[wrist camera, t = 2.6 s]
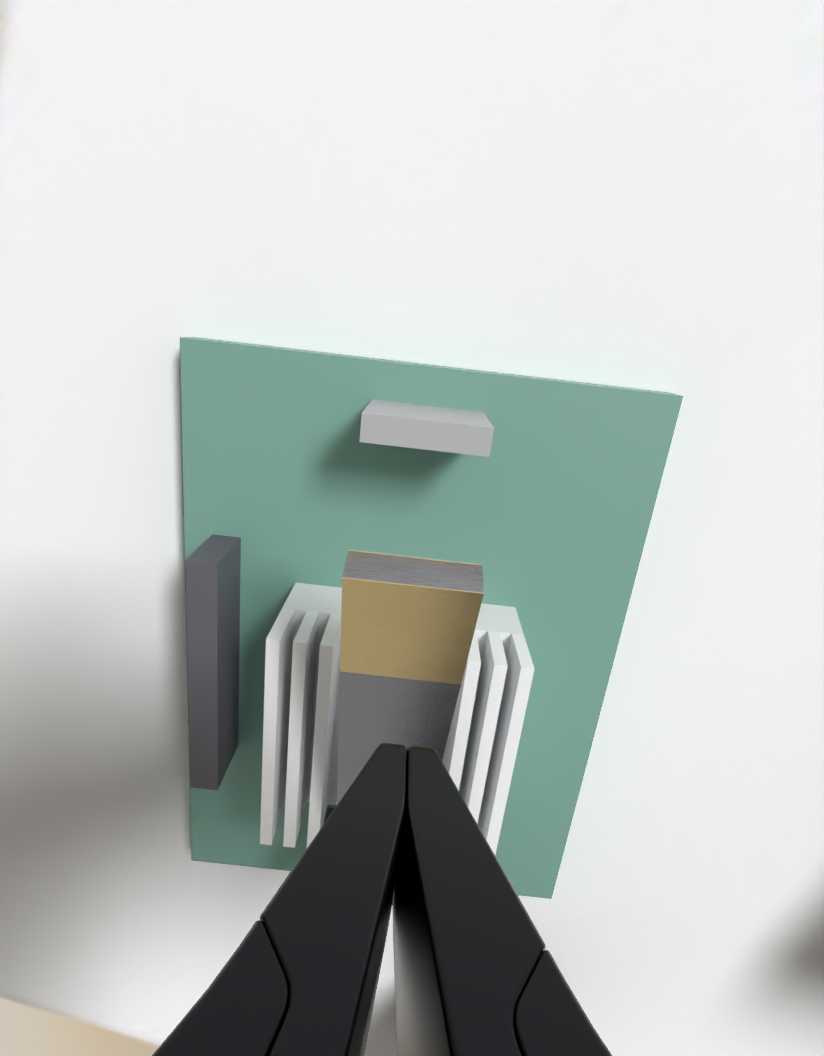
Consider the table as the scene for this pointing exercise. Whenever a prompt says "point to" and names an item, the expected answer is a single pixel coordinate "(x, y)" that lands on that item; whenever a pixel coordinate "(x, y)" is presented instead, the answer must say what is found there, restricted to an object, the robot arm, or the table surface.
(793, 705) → the table surface
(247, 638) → the board
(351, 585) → the gold-tipped grey bar
